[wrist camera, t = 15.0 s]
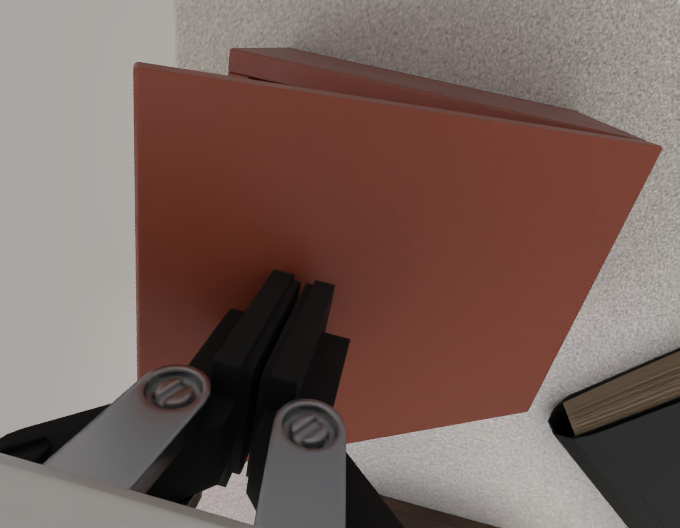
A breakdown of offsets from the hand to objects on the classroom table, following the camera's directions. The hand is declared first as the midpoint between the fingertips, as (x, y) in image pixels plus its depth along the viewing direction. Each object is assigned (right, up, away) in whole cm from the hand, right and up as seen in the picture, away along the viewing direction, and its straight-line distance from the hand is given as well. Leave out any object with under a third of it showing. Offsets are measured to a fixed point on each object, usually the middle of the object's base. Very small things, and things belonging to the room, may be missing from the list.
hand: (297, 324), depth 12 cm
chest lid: (+3, +1, +2) cm, 4 cm away
